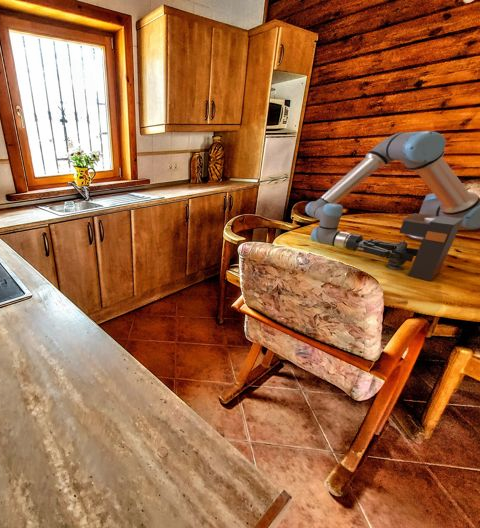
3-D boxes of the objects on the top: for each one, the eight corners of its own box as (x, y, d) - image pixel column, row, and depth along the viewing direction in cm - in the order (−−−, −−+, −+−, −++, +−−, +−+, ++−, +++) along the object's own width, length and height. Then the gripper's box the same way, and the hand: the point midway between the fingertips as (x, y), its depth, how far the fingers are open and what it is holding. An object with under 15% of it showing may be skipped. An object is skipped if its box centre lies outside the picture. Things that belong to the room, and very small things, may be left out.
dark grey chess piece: (407, 270, 113) (418, 242, 108) (390, 269, 114) (400, 242, 109) (397, 264, 118) (407, 237, 113) (381, 263, 119) (391, 237, 114)
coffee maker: (396, 262, 120) (414, 212, 111) (439, 272, 110) (463, 218, 101) (384, 270, 114) (403, 218, 105) (428, 281, 104) (453, 225, 95)
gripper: (356, 244, 134) (420, 258, 116) (336, 254, 124) (403, 271, 106) (360, 229, 131) (427, 241, 113) (340, 238, 121) (410, 253, 103)
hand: (415, 255), depth 110 cm, fingers open, 7 cm apart
